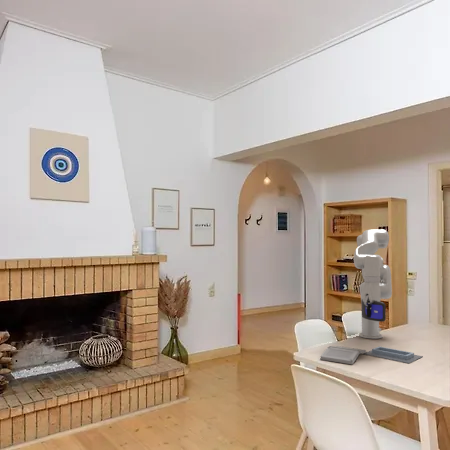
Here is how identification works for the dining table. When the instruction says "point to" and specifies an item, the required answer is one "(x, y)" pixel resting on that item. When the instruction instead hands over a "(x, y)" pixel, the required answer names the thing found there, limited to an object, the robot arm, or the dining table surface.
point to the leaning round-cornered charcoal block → (375, 311)
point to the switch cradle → (393, 354)
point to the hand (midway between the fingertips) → (372, 316)
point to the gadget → (341, 354)
